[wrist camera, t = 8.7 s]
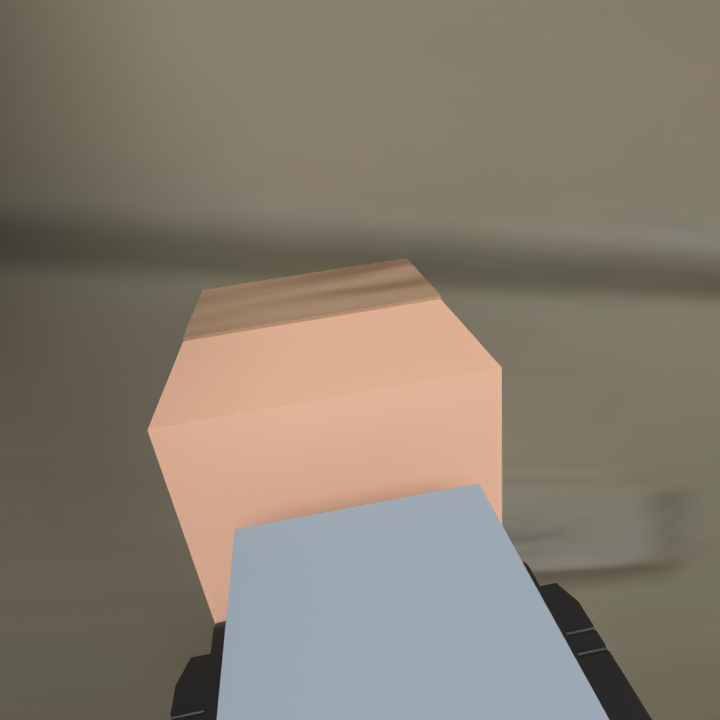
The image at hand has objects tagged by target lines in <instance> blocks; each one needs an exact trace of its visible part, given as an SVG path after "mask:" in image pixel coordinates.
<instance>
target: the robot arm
mask: <svg viewBox="0 0 720 720" xmlns="http://www.w3.org/2000/svg"><path fill="white" fill-rule="evenodd" d="M523 564H524V566H525V568H526V570H527V571H528V573H529V575H530V577H531V579H532V580H533V582H534V584H535V586H536V588H537V589H538V591H539V593H540V595H541V597H542V599H543V600H544V602H545V604H546V606H547V608H548V609H549V611H550V613H551V615H552V617H553V618H554V620H555V622H556V624H557V626H558V628H559V629H560V631H561V633H562V635H563V637H564V638H565V640H566V642H567V644H568V646H569V647H570V649H571V651H572V653H573V655H574V657H575V658H576V660H577V662H578V664H579V666H580V667H581V669H582V671H583V673H584V675H585V676H586V678H587V680H588V682H589V684H590V686H591V687H592V689H593V691H594V693H595V695H596V696H597V698H598V700H599V702H600V704H601V705H602V707H603V709H604V711H605V713H606V715H607V716H608V718H609V720H652V719H651V718H650V716H649V714H648V713H647V711H646V709H645V708H644V706H643V705H642V703H641V701H640V700H639V698H638V697H637V695H636V693H635V692H634V690H633V689H632V687H631V685H630V684H629V682H628V681H627V679H626V677H625V676H624V674H623V673H622V671H621V669H620V668H619V666H618V665H617V663H616V661H615V660H614V658H613V656H612V655H611V653H610V652H609V651H607V649H606V645H605V644H604V642H603V640H602V639H601V637H600V636H599V634H598V632H597V631H595V630H594V627H593V624H592V623H591V621H590V620H589V618H588V616H587V615H586V613H585V612H584V610H583V608H582V607H581V605H580V603H579V602H578V601H577V600H576V599H575V598H573V597H572V596H571V595H570V594H569V593H567V592H566V591H565V590H564V589H563V588H561V587H560V586H559V585H558V584H557V583H554V584H549V585H544V586H539V584H538V582H537V580H536V579H535V577H534V575H533V573H532V571H531V570H530V568H529V566H528V565H527V564H526V563H525V562H523ZM225 627H226V621H222V622H217V623H216V624H215V627H214V631H213V639H212V648H211V654H207V655H202V656H197V657H192V658H191V659H190V660H189V662H188V664H187V666H186V668H185V670H184V671H183V673H182V675H181V677H180V679H179V681H178V682H177V684H176V687H175V693H174V699H173V704H172V710H171V720H217V710H218V700H219V689H220V679H221V668H222V658H223V647H224V637H225Z"/></svg>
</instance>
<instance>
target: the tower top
mask: <svg viewBox="0 0 720 720" xmlns="http://www.w3.org/2000/svg"><path fill="white" fill-rule="evenodd" d="M148 433H149V436H150V439H151V442H152V444H153V447H154V450H155V453H156V456H157V459H158V462H159V464H160V467H161V470H162V473H163V476H164V479H165V482H166V485H167V487H168V490H169V493H170V496H171V499H172V502H173V505H174V507H175V510H176V513H177V516H178V519H179V522H180V525H181V528H182V530H183V533H184V536H185V539H186V542H187V545H188V548H189V550H190V553H191V556H192V559H193V562H194V565H195V568H196V570H197V573H198V576H199V579H200V582H201V585H202V588H203V591H204V593H205V596H206V599H207V602H208V605H209V608H210V611H211V613H212V616H213V619H214V622H215V624H216V623H217V622H222V621H226V616H227V606H228V595H229V585H230V574H231V564H232V554H233V543H234V533H235V529H239V528H244V527H249V526H255V525H260V524H265V523H271V522H276V521H281V520H287V519H292V518H297V517H303V516H308V515H313V514H319V513H324V512H329V511H335V510H340V509H345V508H351V507H356V506H361V505H367V504H372V503H377V502H383V501H388V500H393V499H399V498H404V497H409V496H415V495H420V494H425V493H430V492H436V491H441V490H446V489H452V488H457V487H462V486H468V485H473V484H478V483H479V484H480V486H481V488H482V490H483V492H484V493H485V495H486V497H487V499H488V501H489V503H490V504H491V506H492V508H493V510H494V512H495V513H496V515H497V517H498V519H499V521H500V522H501V524H502V368H501V366H500V365H499V364H498V363H497V362H496V361H495V360H494V359H493V357H492V356H491V355H490V354H489V353H488V352H487V351H486V350H485V348H484V347H483V346H482V345H481V344H480V343H479V342H478V341H477V339H476V338H475V337H474V336H473V335H472V334H471V333H470V332H469V330H468V329H467V328H466V327H465V326H464V325H463V324H462V323H461V321H460V320H459V319H458V318H457V317H456V316H455V315H454V314H453V312H452V311H451V310H450V309H449V308H448V307H447V306H446V305H445V303H444V302H443V301H442V300H441V299H439V300H433V301H426V302H420V303H414V304H408V305H402V306H396V307H390V308H384V309H378V310H372V311H366V312H359V313H353V314H347V315H341V316H335V317H329V318H323V319H317V320H311V321H305V322H298V323H292V324H286V325H280V326H274V327H268V328H262V329H256V330H250V331H244V332H238V333H231V334H225V335H219V336H213V337H207V338H201V339H195V340H189V341H183V343H182V346H181V348H180V351H179V353H178V356H177V358H176V361H175V363H174V366H173V368H172V371H171V373H170V376H169V378H168V381H167V383H166V386H165V388H164V391H163V393H162V395H161V398H160V400H159V403H158V405H157V408H156V410H155V413H154V415H153V418H152V420H151V423H150V425H149V428H148Z"/></svg>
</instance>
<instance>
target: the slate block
mask: <svg viewBox="0 0 720 720" xmlns="http://www.w3.org/2000/svg"><path fill="white" fill-rule="evenodd" d="M217 720H609V718H608V716H607V715H606V713H605V711H604V709H603V707H602V705H601V704H600V702H599V700H598V698H597V696H596V695H595V693H594V691H593V689H592V687H591V686H590V684H589V682H588V680H587V678H586V676H585V675H584V673H583V671H582V669H581V667H580V666H579V664H578V662H577V660H576V658H575V657H574V655H573V653H572V651H571V649H570V647H569V646H568V644H567V642H566V640H565V638H564V637H563V635H562V633H561V631H560V629H559V628H558V626H557V624H556V622H555V620H554V618H553V617H552V615H551V613H550V611H549V609H548V608H547V606H546V604H545V602H544V600H543V599H542V597H541V595H540V593H539V591H538V589H537V588H536V586H535V584H534V582H533V580H532V579H531V577H530V575H529V573H528V571H527V570H526V568H525V566H524V564H523V562H522V560H521V559H520V557H519V555H518V553H517V551H516V550H515V548H514V546H513V544H512V542H511V541H510V539H509V537H508V535H507V533H506V532H505V530H504V528H503V526H502V524H501V522H500V521H499V519H498V517H497V515H496V513H495V512H494V510H493V508H492V506H491V504H490V503H489V501H488V499H487V497H486V495H485V493H484V492H483V490H482V488H481V486H480V484H479V483H478V484H473V485H468V486H462V487H457V488H452V489H446V490H441V491H436V492H430V493H425V494H420V495H415V496H409V497H404V498H399V499H393V500H388V501H383V502H377V503H372V504H367V505H361V506H356V507H351V508H345V509H340V510H335V511H329V512H324V513H319V514H313V515H308V516H303V517H297V518H292V519H287V520H281V521H276V522H271V523H265V524H260V525H255V526H249V527H244V528H239V529H235V533H234V543H233V554H232V564H231V574H230V585H229V595H228V606H227V616H226V627H225V637H224V647H223V658H222V668H221V679H220V689H219V700H218V710H217Z"/></svg>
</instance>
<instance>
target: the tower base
mask: <svg viewBox="0 0 720 720" xmlns="http://www.w3.org/2000/svg"><path fill="white" fill-rule="evenodd" d="M439 299H441V295H440V294H439V293H438V292H437V291H436V290H435V289H434V288H433V287H432V285H431V284H430V283H429V282H428V281H427V280H426V279H425V278H424V277H423V276H422V274H421V273H420V272H419V271H418V270H417V269H416V268H415V267H414V266H413V265H412V264H411V262H410V261H409V260H408V259H407V258H403V259H397V260H390V261H384V262H378V263H371V264H365V265H359V266H352V267H346V268H340V269H333V270H327V271H321V272H314V273H308V274H302V275H295V276H289V277H283V278H276V279H270V280H264V281H257V282H251V283H245V284H238V285H232V286H226V287H219V288H213V289H207V290H202V292H201V295H200V297H199V300H198V302H197V304H196V307H195V309H194V312H193V314H192V317H191V319H190V322H189V324H188V326H187V329H186V331H185V334H184V336H183V341H189V340H195V339H201V338H207V337H213V336H219V335H225V334H231V333H238V332H244V331H250V330H256V329H262V328H268V327H274V326H280V325H286V324H292V323H298V322H305V321H311V320H317V319H323V318H329V317H335V316H341V315H347V314H353V313H359V312H366V311H372V310H378V309H384V308H390V307H396V306H402V305H408V304H414V303H420V302H426V301H433V300H439Z"/></svg>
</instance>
